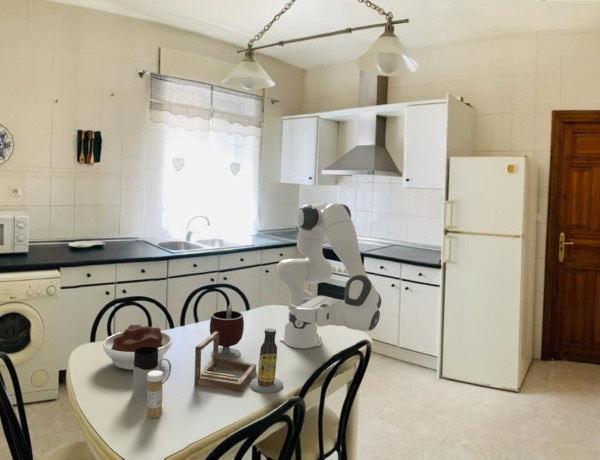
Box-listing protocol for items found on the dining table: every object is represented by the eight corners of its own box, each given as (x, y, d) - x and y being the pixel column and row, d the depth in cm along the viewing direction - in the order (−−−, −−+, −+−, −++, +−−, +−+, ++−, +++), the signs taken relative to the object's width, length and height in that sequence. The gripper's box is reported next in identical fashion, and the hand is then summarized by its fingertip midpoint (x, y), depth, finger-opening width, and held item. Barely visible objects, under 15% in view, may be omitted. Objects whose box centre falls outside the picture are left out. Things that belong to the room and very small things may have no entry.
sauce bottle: (259, 387, 161) (261, 333, 158) (255, 380, 167) (258, 327, 164) (277, 386, 162) (280, 332, 160) (273, 378, 168) (276, 326, 166)
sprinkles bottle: (157, 409, 143) (158, 368, 142) (165, 415, 140) (166, 373, 139) (143, 414, 140) (144, 372, 138) (151, 420, 137) (152, 377, 135)
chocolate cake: (115, 384, 159) (115, 342, 157) (94, 360, 178) (94, 322, 176) (182, 368, 175) (183, 330, 173) (156, 347, 194) (157, 313, 192)
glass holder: (144, 385, 159) (144, 344, 157) (178, 394, 154) (179, 351, 152) (125, 396, 151) (126, 352, 149) (161, 406, 146) (162, 360, 144)
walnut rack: (214, 365, 178) (215, 331, 177) (255, 371, 175) (257, 336, 174) (194, 385, 161) (195, 347, 159) (240, 392, 158) (241, 353, 156)
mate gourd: (239, 362, 183) (241, 313, 181) (205, 360, 184) (207, 311, 181) (245, 348, 199) (247, 303, 197) (213, 346, 199) (215, 301, 197)
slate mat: (255, 376, 171) (255, 374, 171) (286, 380, 169) (286, 379, 169) (244, 390, 159) (244, 388, 159) (278, 395, 157) (278, 393, 157)
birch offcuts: (206, 379, 166) (206, 370, 166) (239, 384, 164) (239, 375, 163) (202, 383, 163) (202, 374, 162) (235, 388, 160) (235, 379, 160)
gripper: (343, 295, 165) (309, 288, 171) (320, 309, 147) (282, 301, 153) (342, 312, 166) (308, 305, 172) (318, 328, 148) (281, 319, 154)
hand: (295, 303), depth 162 cm, fingers open, 8 cm apart
